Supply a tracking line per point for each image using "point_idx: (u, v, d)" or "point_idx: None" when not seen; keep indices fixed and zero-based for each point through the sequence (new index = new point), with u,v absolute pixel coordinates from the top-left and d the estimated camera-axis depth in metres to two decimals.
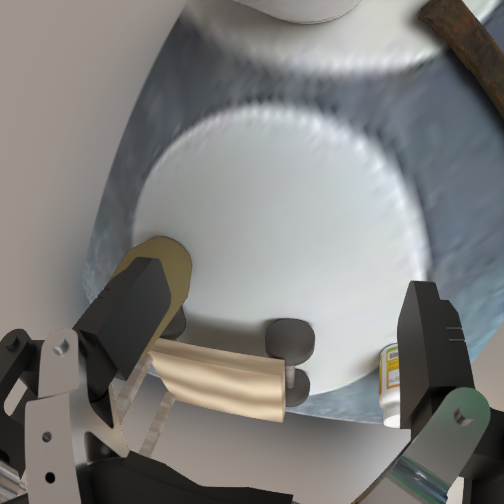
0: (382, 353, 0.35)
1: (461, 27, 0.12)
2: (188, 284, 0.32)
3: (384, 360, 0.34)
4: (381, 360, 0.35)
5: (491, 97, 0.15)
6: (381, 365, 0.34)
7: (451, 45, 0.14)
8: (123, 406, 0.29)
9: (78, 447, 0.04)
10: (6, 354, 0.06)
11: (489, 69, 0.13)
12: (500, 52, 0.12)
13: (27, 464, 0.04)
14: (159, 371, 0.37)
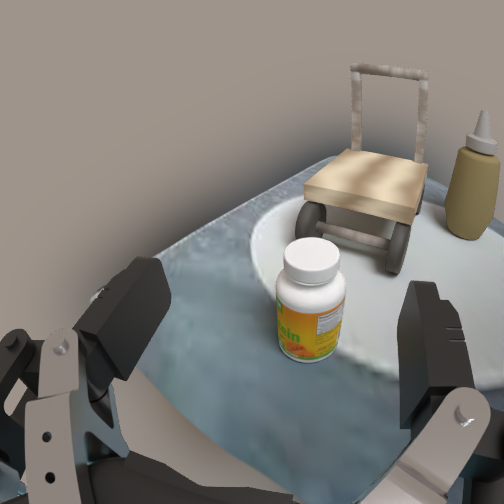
0: None
1: None
2: (466, 220, 0.35)
3: None
4: None
5: None
6: None
7: None
8: (426, 114, 0.35)
9: (78, 447, 0.04)
10: (6, 354, 0.06)
11: None
12: None
13: (27, 464, 0.04)
14: (397, 158, 0.42)
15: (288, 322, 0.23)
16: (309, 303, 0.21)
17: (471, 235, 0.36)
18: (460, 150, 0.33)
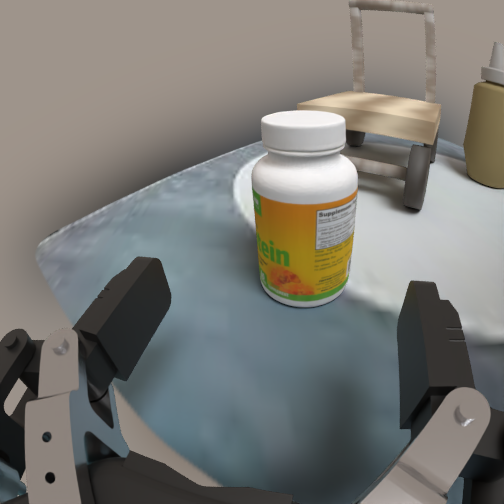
0: None
1: None
2: (491, 161, 0.26)
3: None
4: None
5: None
6: None
7: None
8: (434, 48, 0.27)
9: (78, 447, 0.04)
10: (6, 354, 0.06)
11: None
12: None
13: (27, 464, 0.04)
14: (405, 98, 0.33)
15: (270, 228, 0.15)
16: (301, 185, 0.13)
17: (497, 181, 0.28)
18: (476, 84, 0.25)
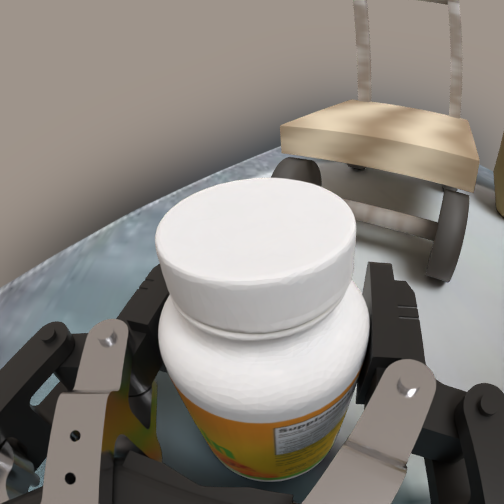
0: None
1: None
2: None
3: None
4: None
5: None
6: None
7: None
8: (461, 48, 0.20)
9: (107, 452, 0.04)
10: (41, 347, 0.07)
11: None
12: None
13: (48, 458, 0.04)
14: (424, 110, 0.26)
15: (196, 420, 0.07)
16: (238, 398, 0.06)
17: None
18: None
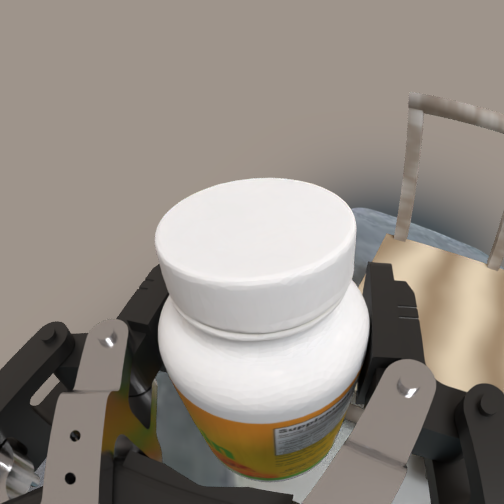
0: None
1: None
2: None
3: None
4: None
5: None
6: None
7: None
8: None
9: (107, 452, 0.04)
10: (41, 347, 0.07)
11: None
12: None
13: (48, 459, 0.04)
14: (463, 259, 0.24)
15: (196, 421, 0.07)
16: (238, 398, 0.06)
17: None
18: None
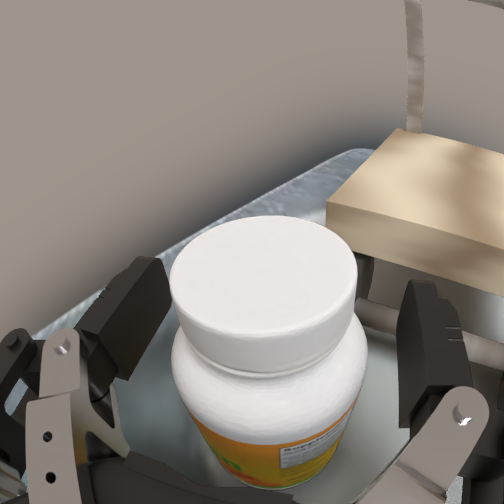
0: None
1: None
2: None
3: None
4: None
5: None
6: None
7: None
8: None
9: (79, 447, 0.04)
10: (7, 354, 0.06)
11: None
12: None
13: (28, 464, 0.04)
14: (489, 151, 0.18)
15: (207, 439, 0.08)
16: (248, 425, 0.06)
17: None
18: None
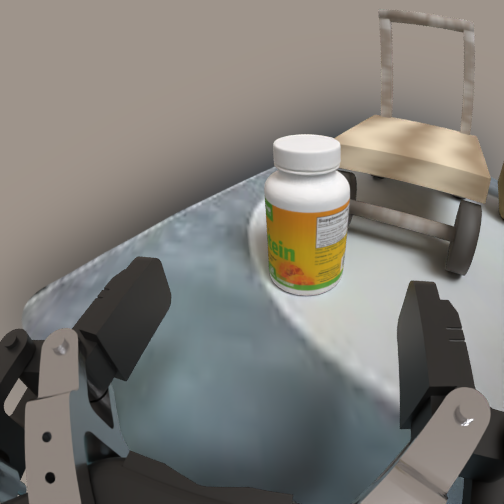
0: None
1: None
2: None
3: None
4: None
5: None
6: None
7: None
8: None
9: (78, 447, 0.04)
10: (6, 354, 0.06)
11: None
12: None
13: (27, 464, 0.04)
14: (439, 127, 0.29)
15: (280, 231, 0.19)
16: (305, 197, 0.17)
17: None
18: None
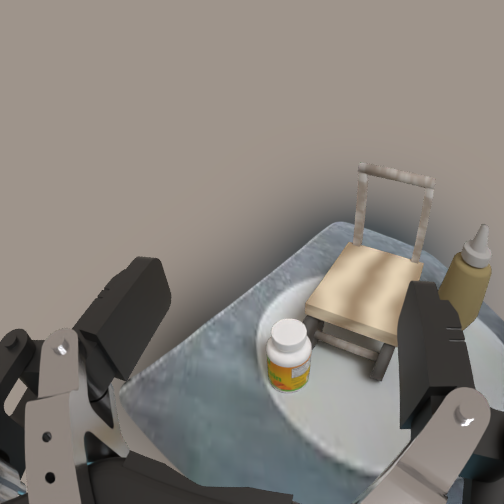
0: None
1: None
2: None
3: None
4: None
5: None
6: None
7: None
8: (427, 221, 0.39)
9: (78, 447, 0.04)
10: (6, 354, 0.06)
11: None
12: None
13: (27, 464, 0.04)
14: (395, 256, 0.46)
15: (273, 370, 0.35)
16: (286, 362, 0.34)
17: None
18: (455, 259, 0.38)
